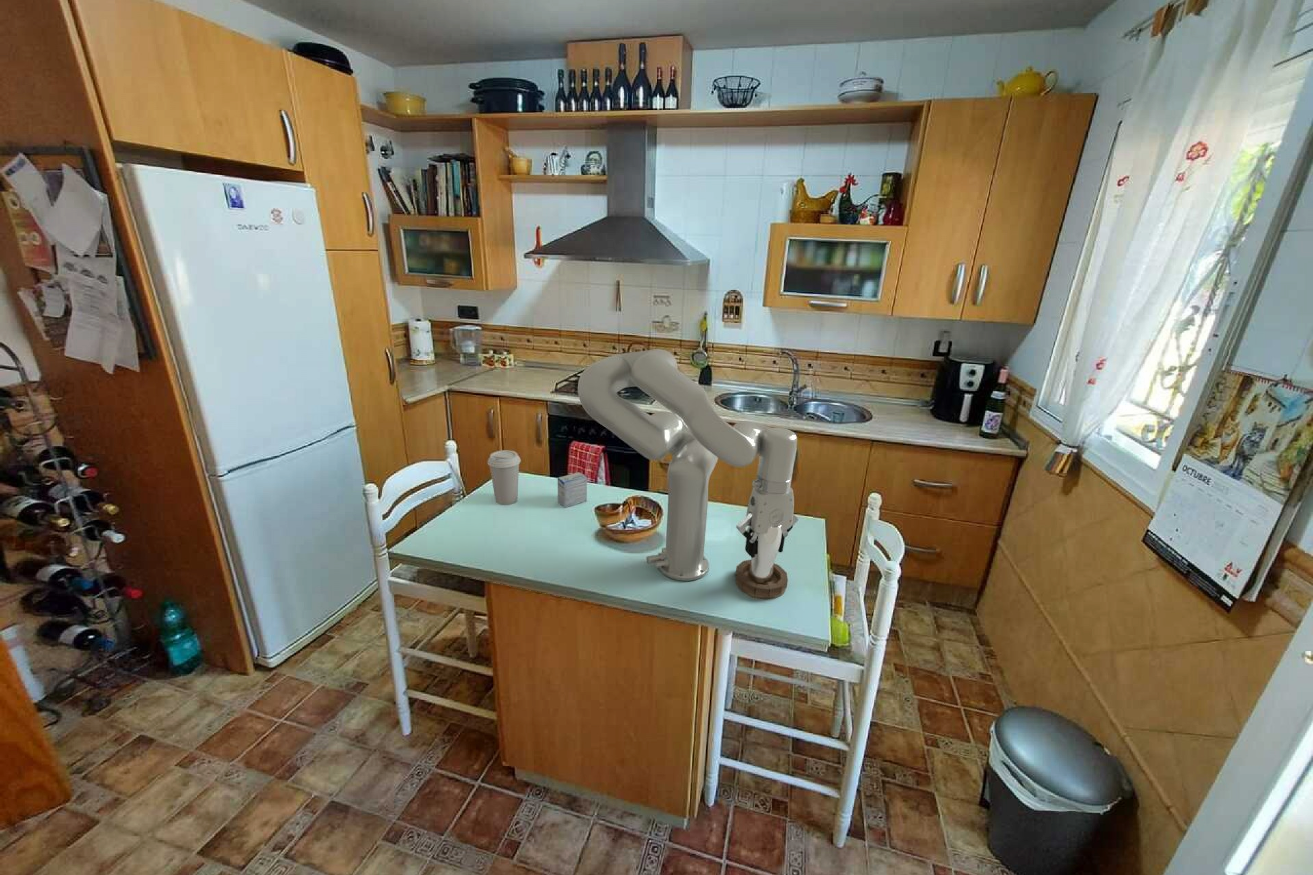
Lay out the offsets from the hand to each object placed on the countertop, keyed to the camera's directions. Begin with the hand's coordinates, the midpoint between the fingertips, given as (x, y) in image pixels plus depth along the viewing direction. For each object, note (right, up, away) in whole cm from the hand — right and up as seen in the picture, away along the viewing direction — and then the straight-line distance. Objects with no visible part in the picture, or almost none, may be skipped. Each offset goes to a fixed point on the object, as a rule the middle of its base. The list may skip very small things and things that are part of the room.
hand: (763, 551), depth 121 cm
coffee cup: (-71, +7, +38) cm, 81 cm away
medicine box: (-51, +6, +38) cm, 64 cm away
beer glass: (0, -7, +2) cm, 7 cm away
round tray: (0, -8, +3) cm, 9 cm away
